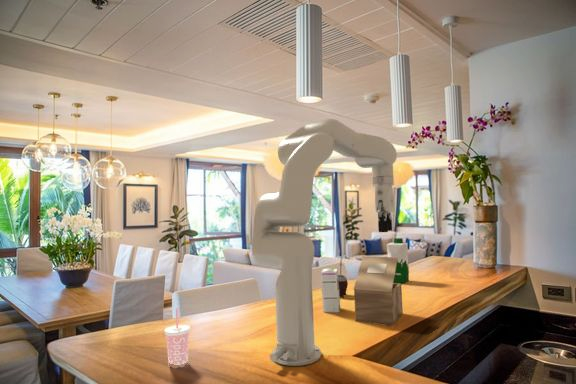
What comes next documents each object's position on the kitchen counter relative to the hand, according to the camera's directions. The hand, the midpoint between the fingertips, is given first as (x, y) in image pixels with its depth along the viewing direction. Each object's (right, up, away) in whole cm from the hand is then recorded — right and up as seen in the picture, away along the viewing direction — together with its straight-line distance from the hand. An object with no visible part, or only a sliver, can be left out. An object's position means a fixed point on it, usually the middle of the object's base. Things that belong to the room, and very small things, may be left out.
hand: (385, 230), depth 138 cm
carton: (-5, -27, -12) cm, 30 cm away
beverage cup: (-63, -29, -43) cm, 82 cm away
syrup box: (-20, -29, -2) cm, 35 cm away
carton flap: (-6, -13, -13) cm, 20 cm away
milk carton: (+17, -28, +40) cm, 52 cm away
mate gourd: (-14, -29, +19) cm, 37 cm away
